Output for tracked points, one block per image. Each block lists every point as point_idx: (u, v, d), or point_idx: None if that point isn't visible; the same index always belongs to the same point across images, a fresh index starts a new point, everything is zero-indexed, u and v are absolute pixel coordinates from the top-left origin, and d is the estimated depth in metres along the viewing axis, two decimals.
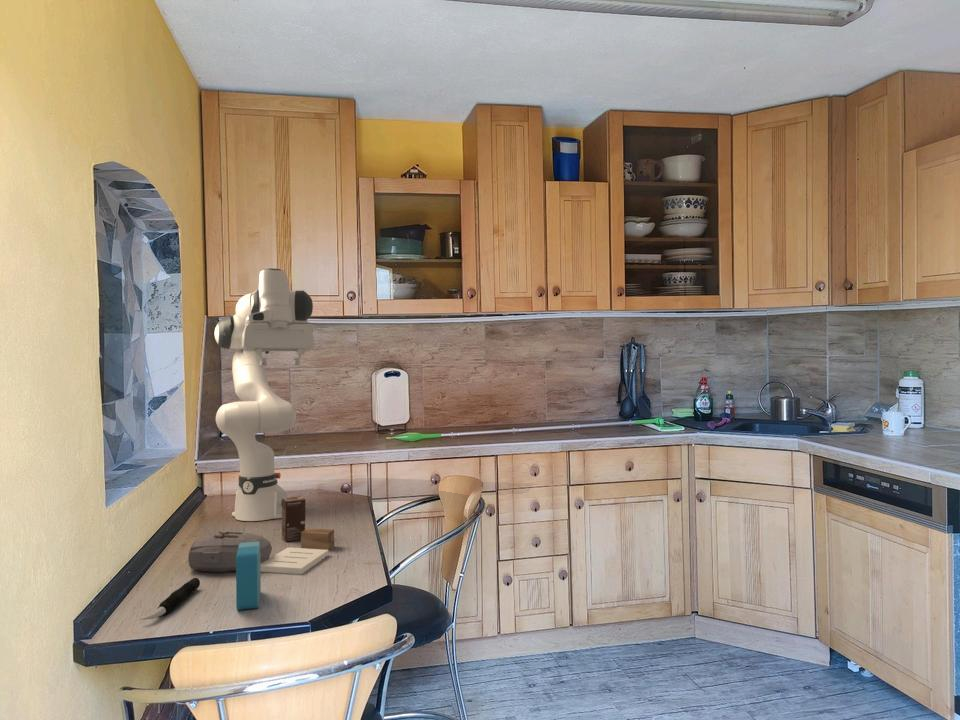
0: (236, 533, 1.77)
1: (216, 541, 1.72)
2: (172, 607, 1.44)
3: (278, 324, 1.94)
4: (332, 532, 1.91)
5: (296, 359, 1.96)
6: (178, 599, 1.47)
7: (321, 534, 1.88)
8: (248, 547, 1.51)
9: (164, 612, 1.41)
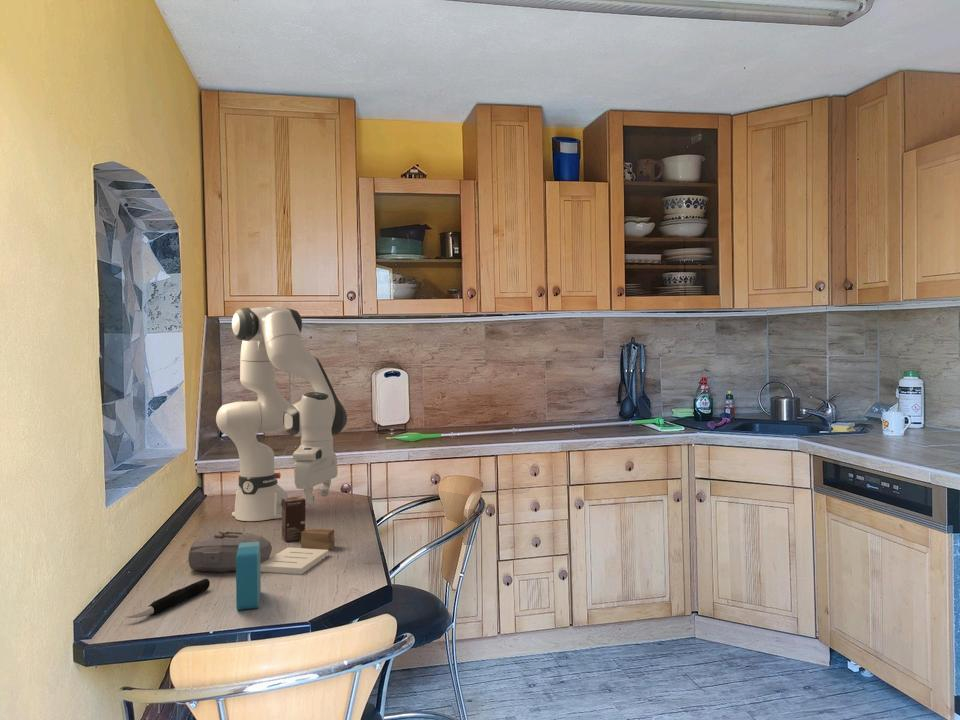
0: (236, 533, 1.77)
1: (216, 541, 1.72)
2: (162, 608, 1.44)
3: (326, 459, 1.89)
4: (332, 532, 1.91)
5: (327, 491, 1.95)
6: (172, 599, 1.47)
7: (322, 534, 1.88)
8: (248, 547, 1.51)
9: (152, 612, 1.42)
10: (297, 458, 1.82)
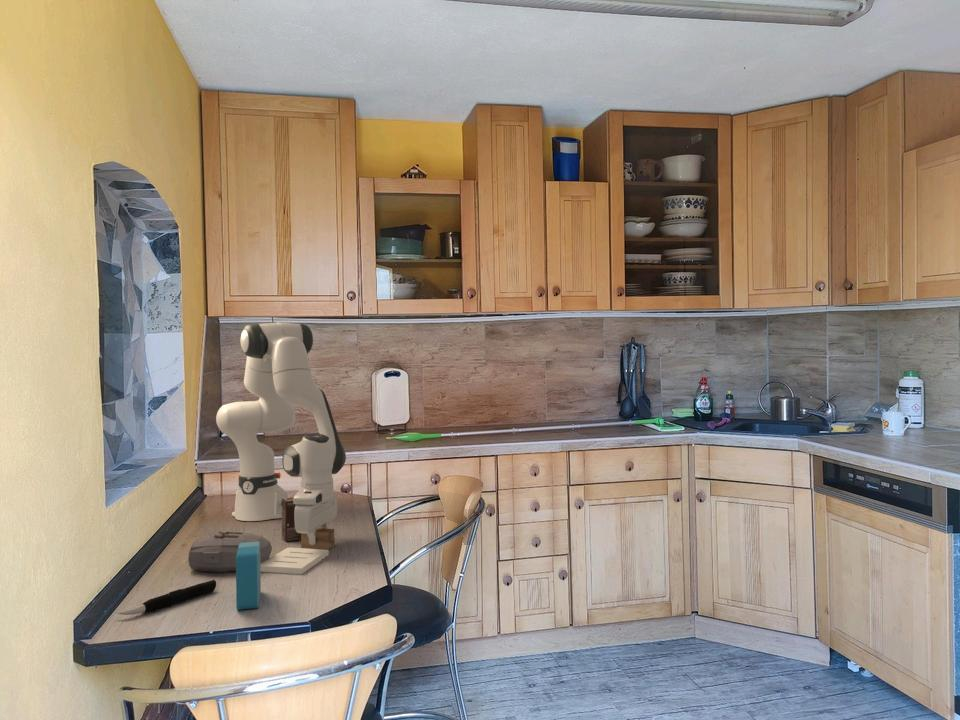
0: (236, 533, 1.77)
1: (216, 541, 1.72)
2: (155, 607, 1.44)
3: (327, 502, 1.90)
4: (332, 531, 1.91)
5: None
6: (168, 599, 1.47)
7: (322, 534, 1.88)
8: (248, 547, 1.51)
9: (143, 610, 1.43)
10: (297, 502, 1.83)
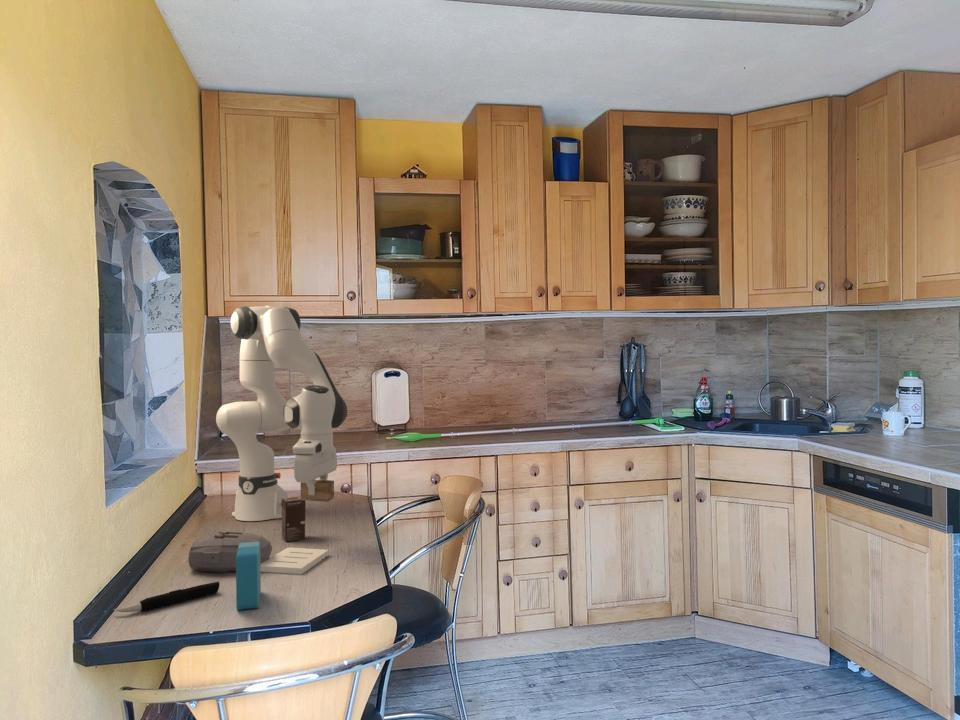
0: (236, 533, 1.77)
1: (216, 541, 1.72)
2: (151, 606, 1.45)
3: (326, 453, 1.90)
4: (332, 483, 1.91)
5: None
6: (166, 599, 1.47)
7: (321, 484, 1.88)
8: (248, 547, 1.51)
9: (139, 609, 1.44)
10: (297, 451, 1.82)
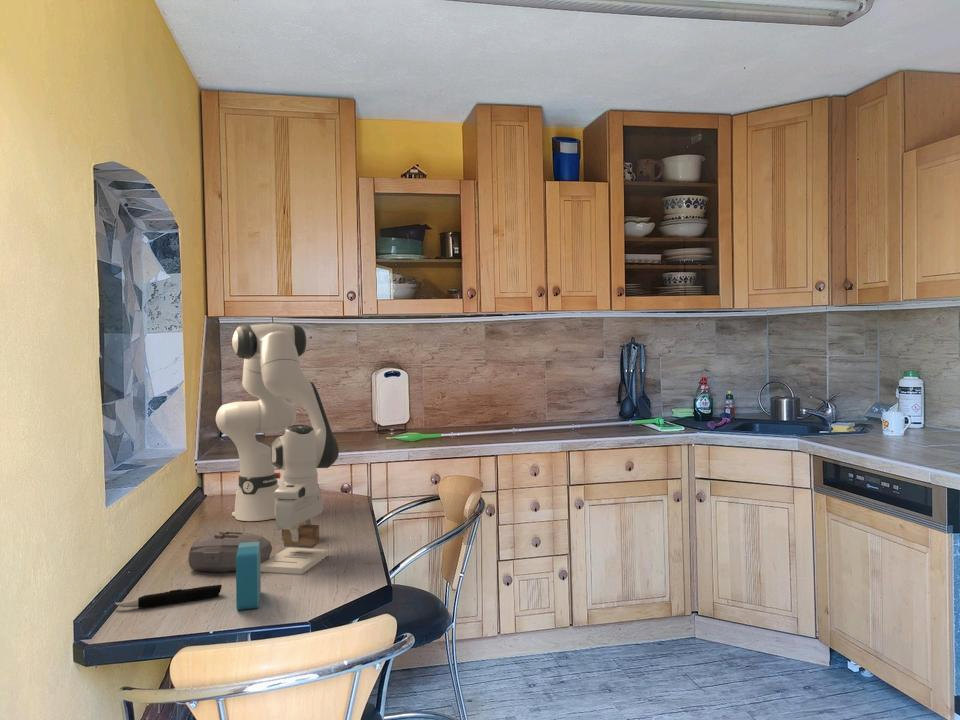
0: (236, 533, 1.77)
1: (216, 541, 1.72)
2: (148, 603, 1.46)
3: (310, 496, 1.80)
4: (317, 528, 1.81)
5: None
6: (163, 598, 1.48)
7: (305, 530, 1.78)
8: (248, 547, 1.51)
9: (136, 605, 1.46)
10: (279, 496, 1.73)
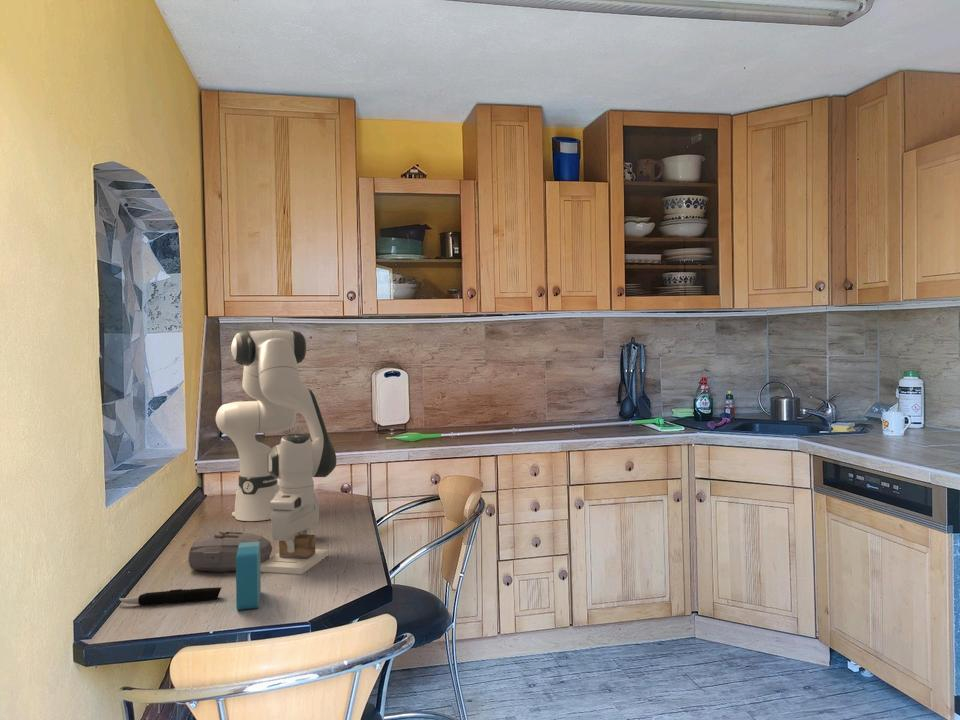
0: (236, 533, 1.77)
1: (216, 541, 1.72)
2: (147, 601, 1.47)
3: (306, 506, 1.77)
4: (313, 538, 1.79)
5: None
6: (162, 597, 1.48)
7: (301, 540, 1.76)
8: (248, 547, 1.51)
9: (136, 602, 1.47)
10: (274, 507, 1.70)
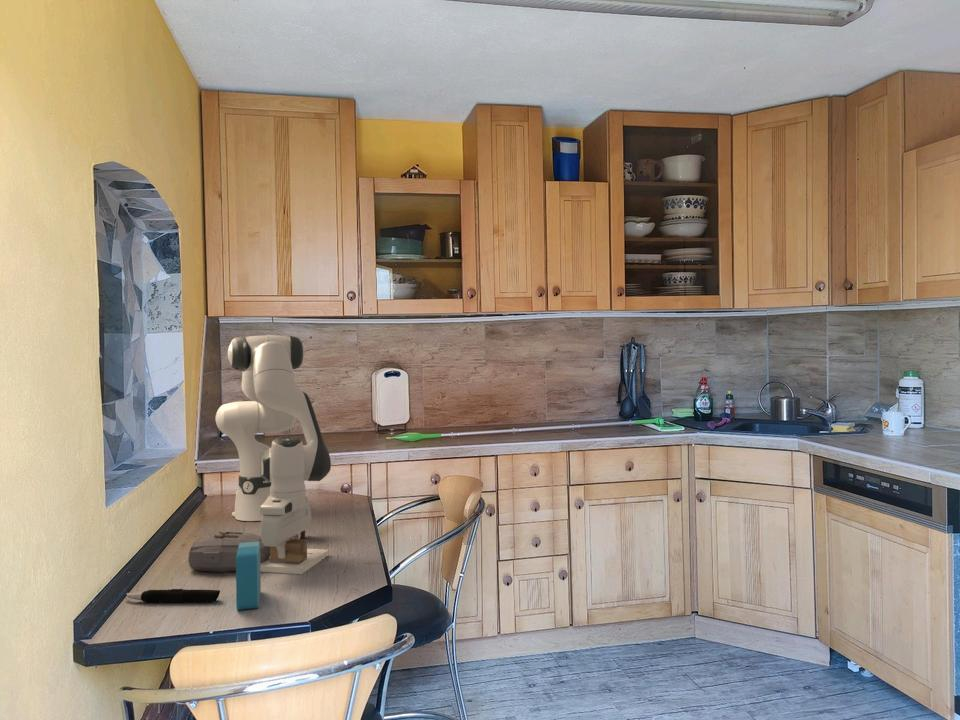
0: (236, 533, 1.77)
1: (216, 541, 1.72)
2: (148, 598, 1.49)
3: (298, 511, 1.73)
4: (304, 543, 1.75)
5: None
6: (162, 595, 1.49)
7: (292, 545, 1.72)
8: (248, 546, 1.51)
9: (139, 598, 1.49)
10: (264, 512, 1.66)
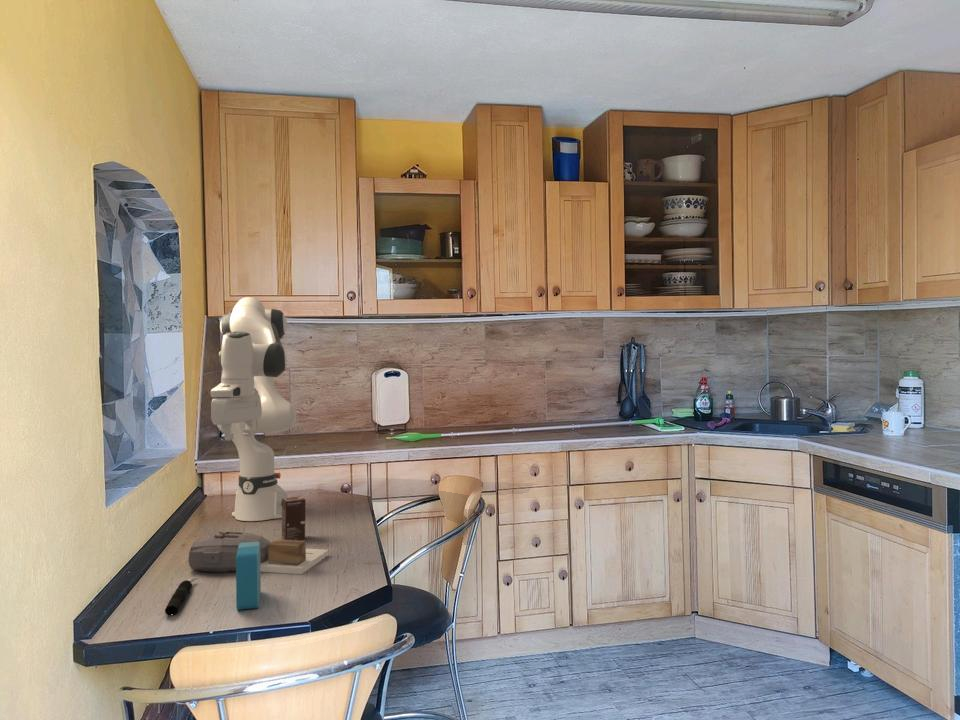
0: (236, 533, 1.77)
1: (216, 541, 1.72)
2: None
3: (247, 398, 1.90)
4: (303, 544, 1.73)
5: (249, 431, 1.95)
6: (176, 589, 1.53)
7: (291, 547, 1.71)
8: (248, 547, 1.51)
9: None
10: (214, 394, 1.83)
